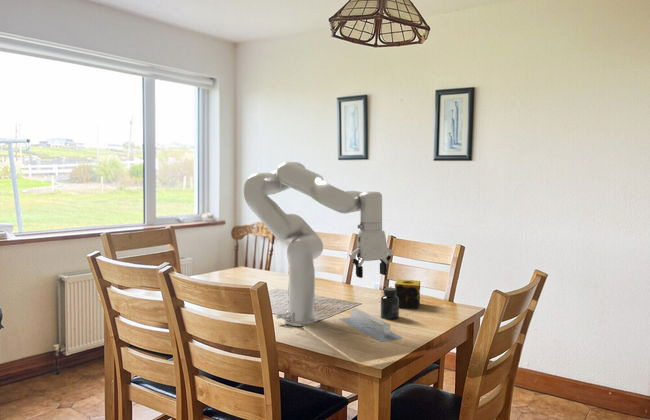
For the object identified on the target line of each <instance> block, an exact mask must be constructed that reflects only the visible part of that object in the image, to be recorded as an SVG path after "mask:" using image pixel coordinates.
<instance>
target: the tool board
mask: <svg viewBox="0 0 650 420" xmlns="http://www.w3.org/2000/svg"><path fill="white" fill-rule="evenodd" d="M339 321H342V322H344V323H346V324H347V325H349V326H351V327H353V328H355V329H356V330H358V331H360V332H361V333H364V334H366V335H367V336H369V337H371V338H373V339H374V340H377V341H378V342H380V343H382V342H387V341H394V340H400V339H404V337H402V336H401V335H398V334H396V333H395V332H393V331H391V330H390V337H385V338H384V337H382V336H380V335H378V334H376V333H374V332H372V331H370V330H368V329H367V328H365V327H363V326H361V325H359V324H357V323H355V322H353V321H352V320H351V316H349V317H342V318H339Z"/></svg>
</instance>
